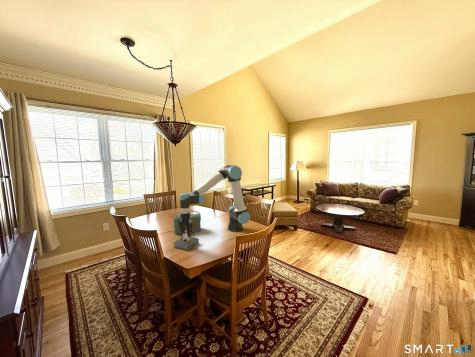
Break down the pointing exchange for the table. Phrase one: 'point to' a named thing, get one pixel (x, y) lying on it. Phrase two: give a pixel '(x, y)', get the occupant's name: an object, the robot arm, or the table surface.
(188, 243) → the chuck block
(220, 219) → the table surface
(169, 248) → the table surface
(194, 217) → the radio
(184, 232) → the chuck key
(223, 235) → the table surface
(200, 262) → the table surface
